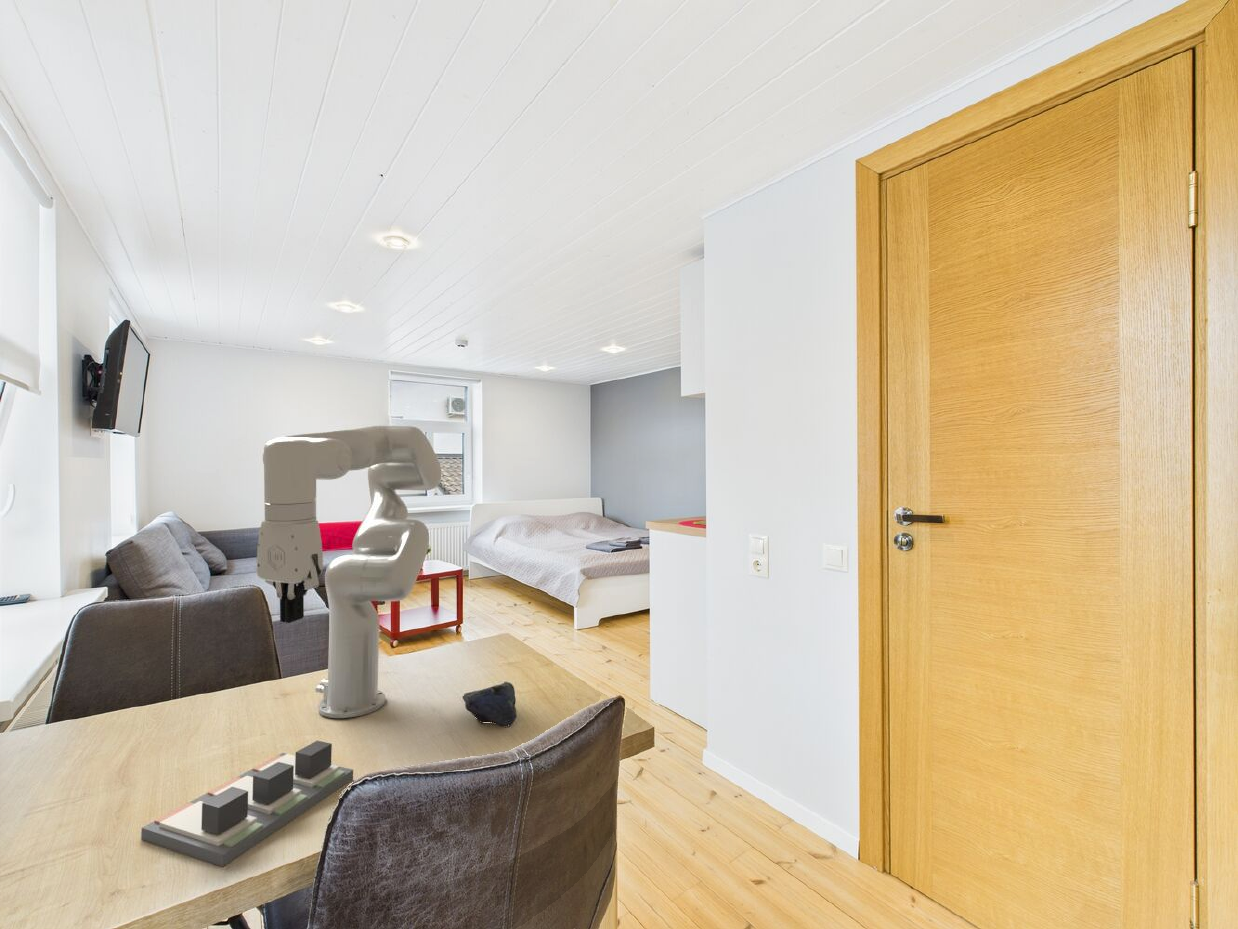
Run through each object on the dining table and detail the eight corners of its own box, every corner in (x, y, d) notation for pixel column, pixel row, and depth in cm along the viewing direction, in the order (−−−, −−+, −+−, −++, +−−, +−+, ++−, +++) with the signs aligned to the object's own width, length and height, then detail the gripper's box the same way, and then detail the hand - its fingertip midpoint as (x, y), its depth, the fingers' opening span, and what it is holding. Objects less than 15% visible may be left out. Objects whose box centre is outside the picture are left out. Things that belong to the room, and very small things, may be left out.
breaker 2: (295, 775, 86) (295, 752, 86) (316, 762, 89) (317, 740, 89) (309, 778, 85) (310, 755, 85) (331, 765, 88) (331, 743, 88)
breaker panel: (141, 839, 74) (141, 823, 74) (282, 761, 94) (282, 749, 94) (222, 866, 69) (222, 850, 69) (353, 779, 89) (353, 766, 89)
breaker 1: (201, 830, 72) (202, 803, 72) (231, 812, 76) (232, 786, 76) (217, 835, 71) (218, 807, 71) (247, 817, 75) (248, 791, 75)
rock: (474, 742, 102) (527, 722, 106) (464, 696, 104) (516, 678, 108) (467, 734, 116) (513, 716, 120) (458, 694, 118) (504, 678, 122)
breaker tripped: (252, 800, 79) (253, 775, 79) (277, 785, 83) (278, 761, 83) (268, 804, 78) (268, 779, 78) (293, 789, 82) (293, 765, 82)
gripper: (237, 512, 92) (238, 621, 93) (306, 518, 87) (307, 633, 88) (277, 507, 99) (278, 608, 100) (343, 512, 94) (344, 618, 95)
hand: (292, 619), depth 94 cm, fingers closed
